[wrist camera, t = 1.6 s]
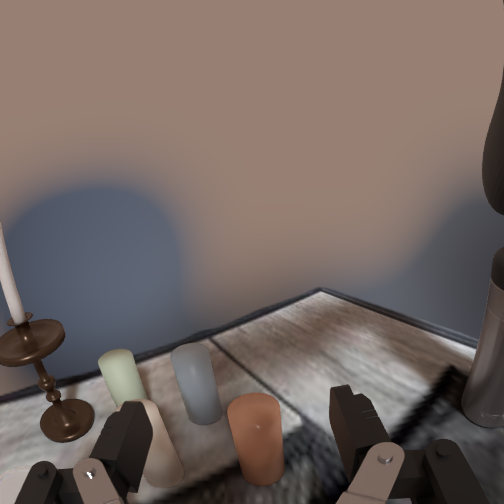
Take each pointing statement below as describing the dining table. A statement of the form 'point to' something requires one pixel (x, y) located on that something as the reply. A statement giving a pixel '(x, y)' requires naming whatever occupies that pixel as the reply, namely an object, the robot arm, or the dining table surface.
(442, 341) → the dining table surface
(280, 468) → the terracotta canister
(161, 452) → the cream canister
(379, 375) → the dining table surface
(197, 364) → the dusty blue canister
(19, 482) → the bottle
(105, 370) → the sage canister
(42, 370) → the candlestick
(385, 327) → the dining table surface
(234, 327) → the dining table surface
